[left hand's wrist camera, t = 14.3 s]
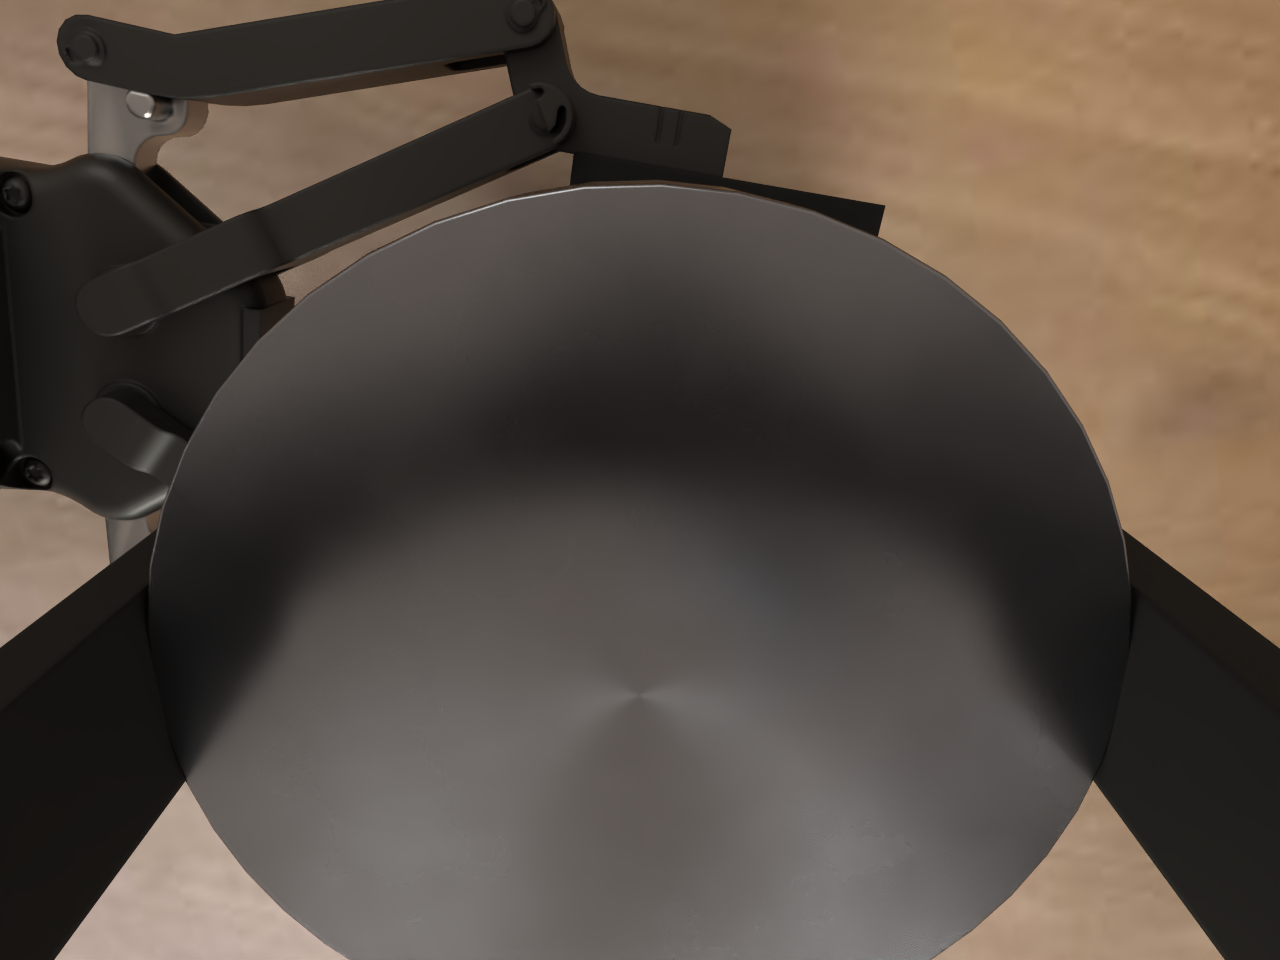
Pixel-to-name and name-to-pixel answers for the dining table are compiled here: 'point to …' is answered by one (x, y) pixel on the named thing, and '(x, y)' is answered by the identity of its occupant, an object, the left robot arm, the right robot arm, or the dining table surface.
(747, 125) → the dining table surface
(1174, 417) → the dining table surface
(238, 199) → the dining table surface
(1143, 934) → the dining table surface
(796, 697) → the lid
